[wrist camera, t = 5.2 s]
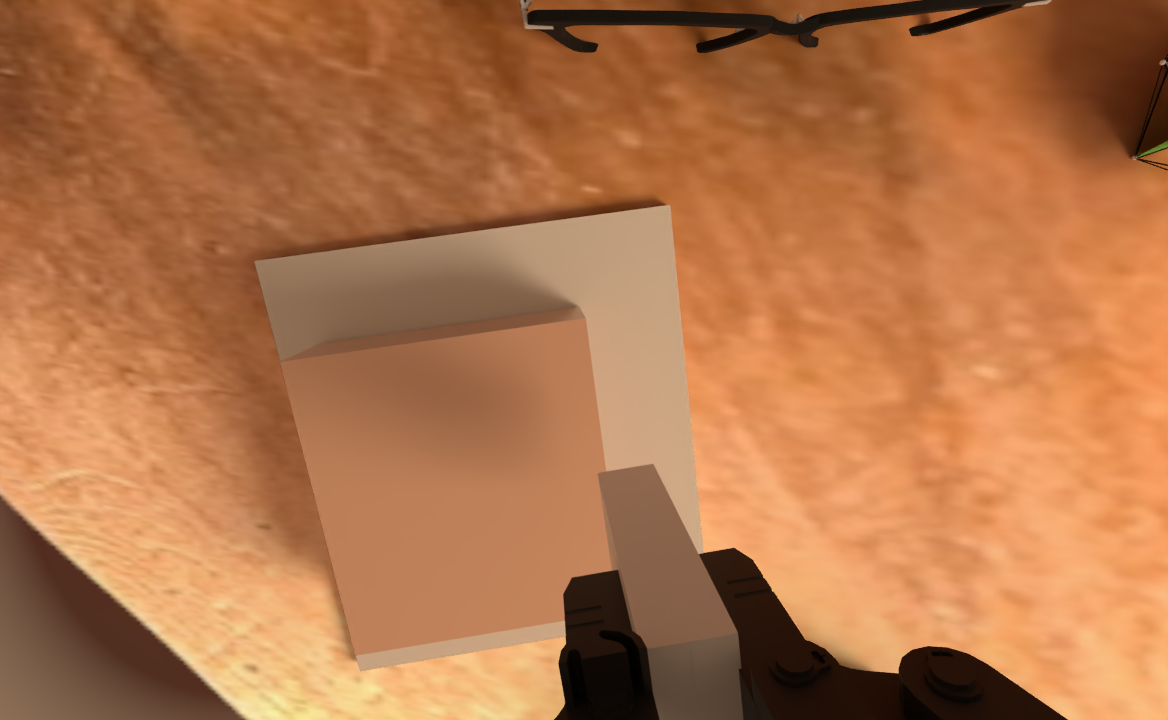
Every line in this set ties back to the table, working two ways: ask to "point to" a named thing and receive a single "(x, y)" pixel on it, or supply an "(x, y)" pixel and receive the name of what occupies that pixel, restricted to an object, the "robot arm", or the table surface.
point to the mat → (514, 287)
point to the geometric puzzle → (1167, 63)
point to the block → (454, 474)
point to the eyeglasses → (761, 20)
